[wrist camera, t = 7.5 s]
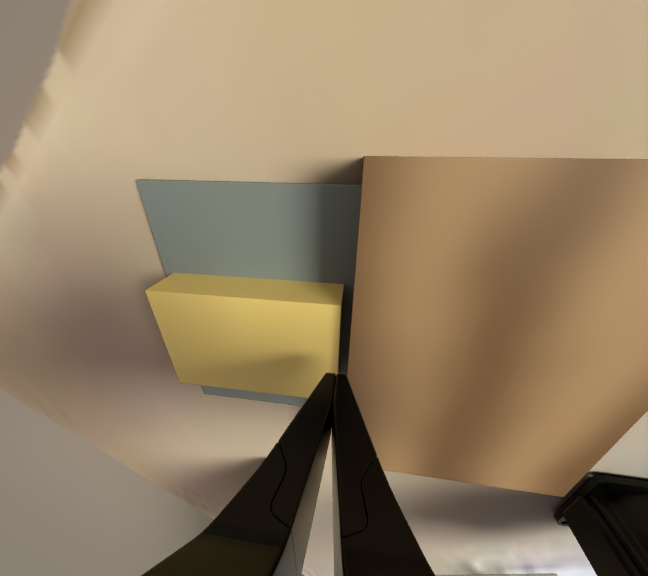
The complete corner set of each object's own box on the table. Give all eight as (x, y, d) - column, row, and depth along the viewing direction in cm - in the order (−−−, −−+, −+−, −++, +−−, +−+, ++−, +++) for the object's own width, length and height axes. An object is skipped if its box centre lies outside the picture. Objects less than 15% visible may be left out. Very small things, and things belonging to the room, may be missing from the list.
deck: (720, 161, 8) (889, 161, 6) (529, 440, 16) (563, 497, 13) (363, 157, 10) (364, 156, 7) (343, 416, 17) (340, 463, 14)
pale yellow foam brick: (343, 284, 12) (341, 305, 10) (339, 372, 15) (336, 401, 13) (174, 272, 13) (144, 290, 11) (199, 357, 16) (179, 382, 14)
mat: (361, 184, 10) (361, 185, 10) (344, 407, 17) (343, 411, 16) (140, 179, 11) (135, 179, 11) (206, 390, 18) (204, 393, 17)
